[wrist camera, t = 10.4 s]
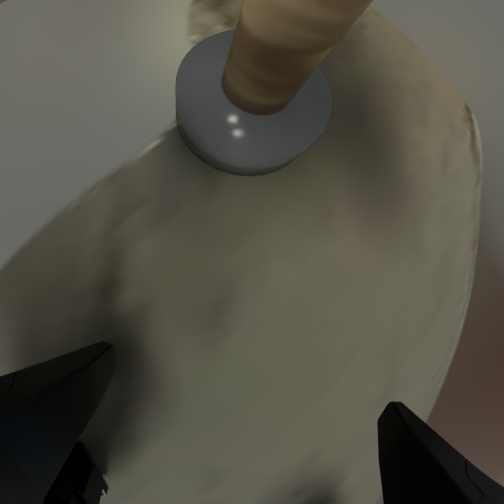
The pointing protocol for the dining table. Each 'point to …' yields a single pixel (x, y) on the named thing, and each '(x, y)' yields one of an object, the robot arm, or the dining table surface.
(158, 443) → the dining table surface
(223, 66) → the grey round bowl
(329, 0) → the oak pillar
